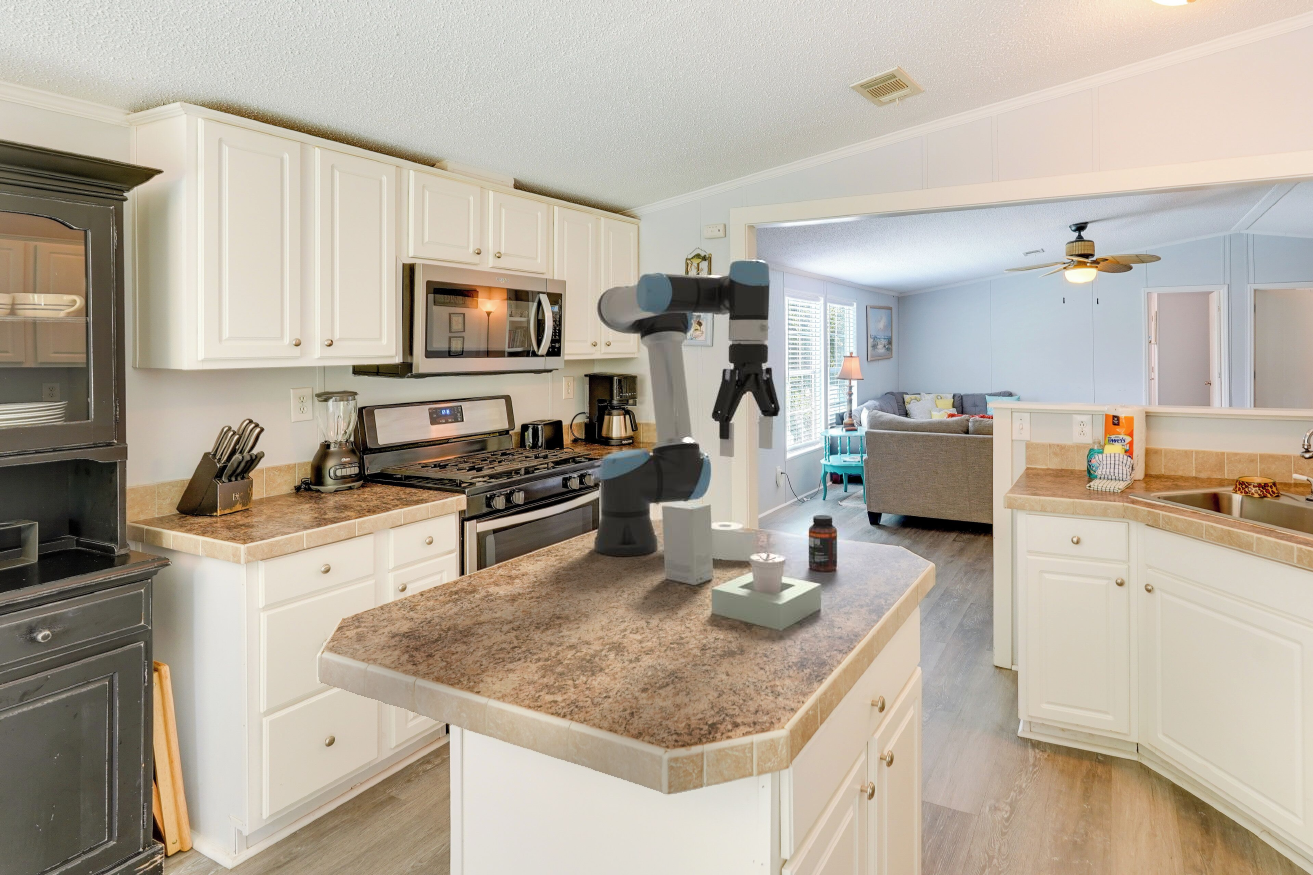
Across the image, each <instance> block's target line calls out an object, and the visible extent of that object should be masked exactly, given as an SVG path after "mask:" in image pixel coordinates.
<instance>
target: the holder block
mask: <svg viewBox="0 0 1313 875" xmlns="http://www.w3.org/2000/svg"><path fill="white" fill-rule="evenodd" d="M821 609H822V583H817V582H812V581H807V580H802V579H797V578H792V577H787V576H783V575H782V583H781V590H780V593H778V594H776V595H770V594H765V593H761V592H756V591H755V590H754V582H753V574H752V571H751V572H749V573H745V574H743V575H741V576H739V577H736V578H734V579H731V580H729V581H726V582H723V583H721V584H719V585H716V586H714V587H712V588H711V614H713V615H718V616H722V617H725V618H730V619H734V620H737V621H741V622H745V623H749V624H753V625H758V626H761V627H764V628H769V629H773V630H777V631H780V632H781V631H783V630H785V629H786V628H788V627H790V626H792V625H793V624H795V623H798V622H799V621H801V620H803V619H805V618H806V617H807V618H808V616H810V615H812V614H814V613H815V612H817V611H819V610H821Z"/></svg>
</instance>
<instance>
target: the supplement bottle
mask: <svg viewBox="0 0 1313 875" xmlns="http://www.w3.org/2000/svg"><path fill="white" fill-rule="evenodd" d="M812 519H813V520H812V522H813V524H812V525H811V526H809V528H808V567H809V569H811V570H812V571H817V572H832V571H834V570H836V569H837V567H838V530H837V527H835V525H834V524H833V516H831V515H828V514H816V515H813V518H812Z"/></svg>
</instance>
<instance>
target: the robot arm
mask: <svg viewBox="0 0 1313 875" xmlns="http://www.w3.org/2000/svg"><path fill="white" fill-rule="evenodd" d="M770 285H771V280H770V265H769V264H768V263H767V262H766V261H764V260H759V259H743V260H735V261H732V262H731V263H730V265H729V273H728V274H727V275H711V274H710V275H709V274H708V275H707V274H706V275H705V274H672V273H670V274H669V273H661V272H654V273H643V274H642V275H641V276H640V277H639V279H638V281H637V284H633V285H630V286H628V285H626V286H615V287H612V288H608V289H607V290H605V291H604V292H603V293H602V294H601V295H600V297H599V298H598V301H597V306H596V307H597V308H596V311H597V315H598V317H599V320H600V321H601V323H602V324H603V325H604V326H606V327H607V328H609V329H610V330H612V331H615V332H617V333H622V334H630V335H632V334H635V335H636V334H637V335H639V338H640V343H641V345H642V346H644V347H646V348H647V355H648V363H649V371H650V372H649V373H650V381H651V382H650V383H651V393H652V394H651V395H652V403H653V410H654V413H653V414H654V420H655V430H656V432H655V433H656V439H657V440H656V443H655V444H654V446H652V448H651V451H652V454H650V451H649V450H647V449H645V448H644V449H643V448H642V449H641V448H640V449H639V448H637V449H626V450H621V451H615V452H612V453H609V454H607V455H605V456H604V457H603V458H602V459H601V460H600V471H599V479H600V480H599V481H600V512H601V513H600V521H599V524H598V527H597V532H596V536H595V537H594V539H593V540H594V545H593V546H594V551H595V552H597V553H599V554H602V555H606V556H615V557H632V556H641V555H647V554H651V553H653V552H655V551H657V549H658V538H657V535H656V533H655V529H654V525H653V522H652V520H651V519H652V518H651V504H661V503H676V502H680V501H685V502H690V501H693V500H694V501H695V500H699V499H701V498H703V497H704V496H705V494H706V493H707V491H708V489H709V486H710V483H711V479H712V464H711V459H710V458H709V455H708V454H707V452H704V451H702V450H700V443H699V442H698V441H696V440H695V439H694V438H693V433H692V424H691V417H690V409H689V398H688V397H689V396H688V391H687V381H686V372H685V364H684V363H685V362H684V355H683V354H684V353H683V346H682V345H683V344H684V342H685V341H686V340H687V339H688V338H687V337H688V334H689V333H690V332H691V330H692V329H693V324H694V322H693V319H694V314H713V315H722V316H723V315H728V316H729V317H728V341H729V342H731V343H730V344H729V346H728V362H729V363H730V364H732V365H733V368H723V369H722V374H721V382H720V386H719V389H718V392H717V396H716V399H715V402H714V406H713V410H712V413H711V418H712V419H713V420H714V422H719V426H718V427H719V428H718V429H719V434H718V437H719V456H720V457H727V458H728V457H729V458H734V456H735V422H734V421H732V420H733V418H734V415H735V413H736V411H737V409H738V407H739V405H740V403H741V401H742V399H743V396H744V395H746V394H747V393H748V392H750V393H751V394H752V396H753V398H754V400H755V402H756V405H757V407H758V408H759V410H760V413H761V414H762V415H760V416H759V417H758V421H759V422H758V449H766V450H772V449H773V431H774V430H773V429H774V427H773V425H774V424H773V423H774V422H773V421H774V417H778V416H779V412H780V411H781V409H780V404H779V400H778V395H777V391H776V388H775V384H774V380H773V368H772V367H769V366H765V367H764V366H763V364H767V363H768V361H769V345H768V344H766V342H767V341H768V340H769V328H770V327H769V311H770Z"/></svg>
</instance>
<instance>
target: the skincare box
mask: <svg viewBox="0 0 1313 875" xmlns="http://www.w3.org/2000/svg"><path fill="white" fill-rule="evenodd" d="M711 507H712V505H711V504H707V503H699V502H691V501H686V502H685V501H677V502H671V503H669V504H665V505H662V506H661V513H662V532H663V533H662V534H663V535H662V536H663V557H664V558H663V559H664V579H665V580H670V581H674V582H677V583H683V584H687V585H690V586H691V585H692V586H697V585H700V584H702V583H706V582H708V581H710V580H712V579H713V578H714V565H713V564H714V563H713V558H712V531H711V523H712V508H711Z"/></svg>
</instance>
